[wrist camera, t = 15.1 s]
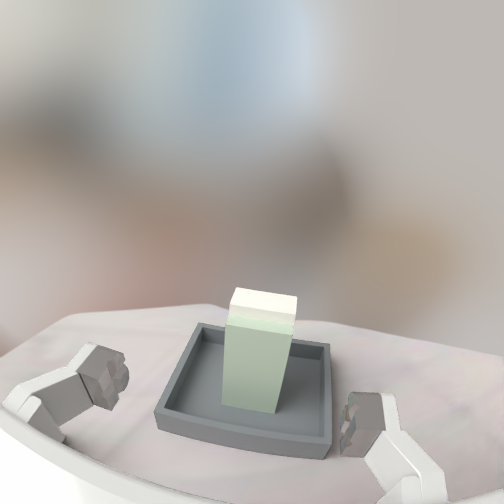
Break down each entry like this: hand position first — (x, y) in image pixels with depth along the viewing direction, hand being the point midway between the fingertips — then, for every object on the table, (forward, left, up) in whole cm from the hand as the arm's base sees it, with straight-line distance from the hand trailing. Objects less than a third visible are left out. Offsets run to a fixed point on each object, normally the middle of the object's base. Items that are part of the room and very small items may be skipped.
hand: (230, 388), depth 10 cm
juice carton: (0, -18, -21) cm, 27 cm away
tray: (0, -18, -22) cm, 28 cm away
